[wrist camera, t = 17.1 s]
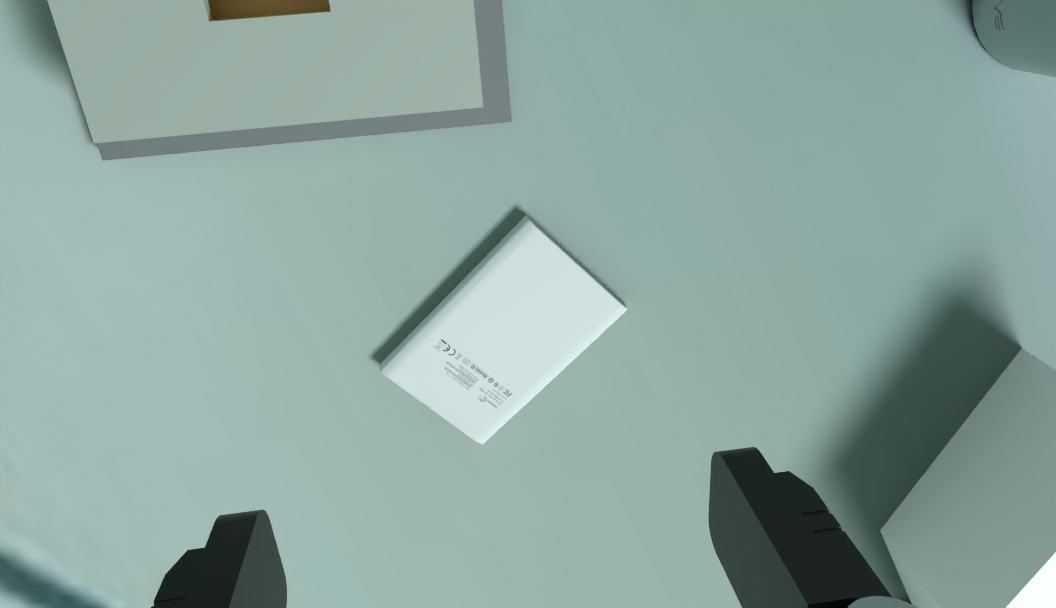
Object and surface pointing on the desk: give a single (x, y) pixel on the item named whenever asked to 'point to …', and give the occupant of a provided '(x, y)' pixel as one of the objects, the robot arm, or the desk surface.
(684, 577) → the desk surface
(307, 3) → the breaker button
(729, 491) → the robot arm
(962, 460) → the white rectangular box
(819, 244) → the desk surface
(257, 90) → the grey box with hole
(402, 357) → the external hard drive
